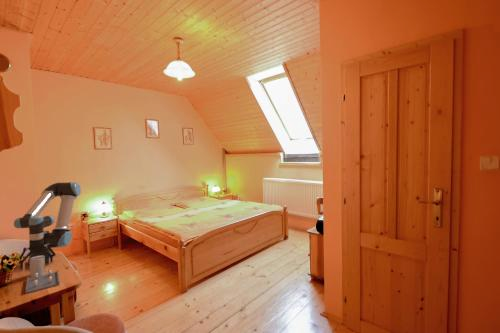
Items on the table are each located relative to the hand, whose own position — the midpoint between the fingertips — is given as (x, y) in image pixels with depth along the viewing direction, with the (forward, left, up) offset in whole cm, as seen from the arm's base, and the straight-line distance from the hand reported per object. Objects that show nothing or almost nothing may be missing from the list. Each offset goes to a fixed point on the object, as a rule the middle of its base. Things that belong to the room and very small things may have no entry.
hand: (37, 269), depth 170 cm
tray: (+17, +3, -4) cm, 17 cm away
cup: (0, 0, -4) cm, 4 cm away
